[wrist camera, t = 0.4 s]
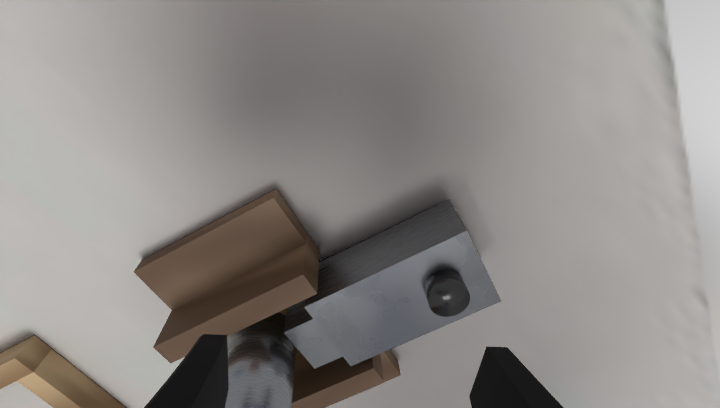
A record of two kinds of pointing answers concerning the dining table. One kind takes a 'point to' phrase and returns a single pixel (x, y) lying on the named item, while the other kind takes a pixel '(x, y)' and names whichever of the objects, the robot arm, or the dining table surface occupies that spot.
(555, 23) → the dining table surface
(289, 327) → the key bar
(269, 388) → the brass-collared grey cylinder
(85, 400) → the rack
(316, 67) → the dining table surface
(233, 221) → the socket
